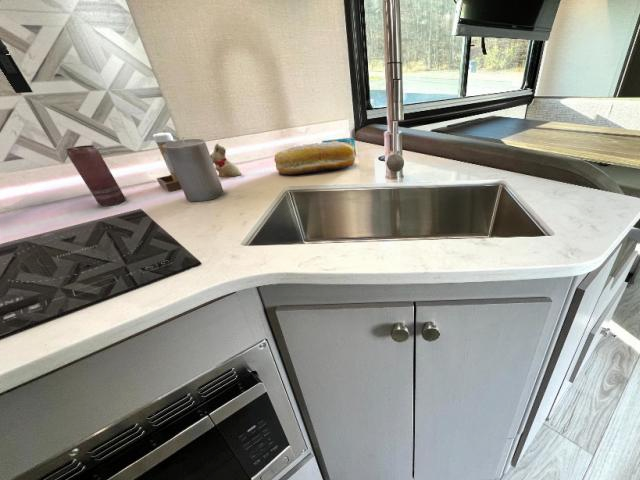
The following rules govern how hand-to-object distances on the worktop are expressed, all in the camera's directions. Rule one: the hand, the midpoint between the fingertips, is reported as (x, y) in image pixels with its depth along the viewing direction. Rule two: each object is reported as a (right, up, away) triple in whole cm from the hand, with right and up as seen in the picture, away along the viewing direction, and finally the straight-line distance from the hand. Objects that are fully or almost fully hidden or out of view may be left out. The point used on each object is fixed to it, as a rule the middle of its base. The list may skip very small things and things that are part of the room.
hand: (23, 91), depth 72 cm
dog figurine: (+30, -6, +33) cm, 45 cm away
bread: (+59, -3, +35) cm, 69 cm away
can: (+7, -21, +15) cm, 27 cm away
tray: (+19, -12, +26) cm, 35 cm away
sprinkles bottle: (+19, -11, +25) cm, 34 cm away
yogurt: (+64, +6, +48) cm, 80 cm away
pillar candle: (+32, -19, +17) cm, 41 cm away
